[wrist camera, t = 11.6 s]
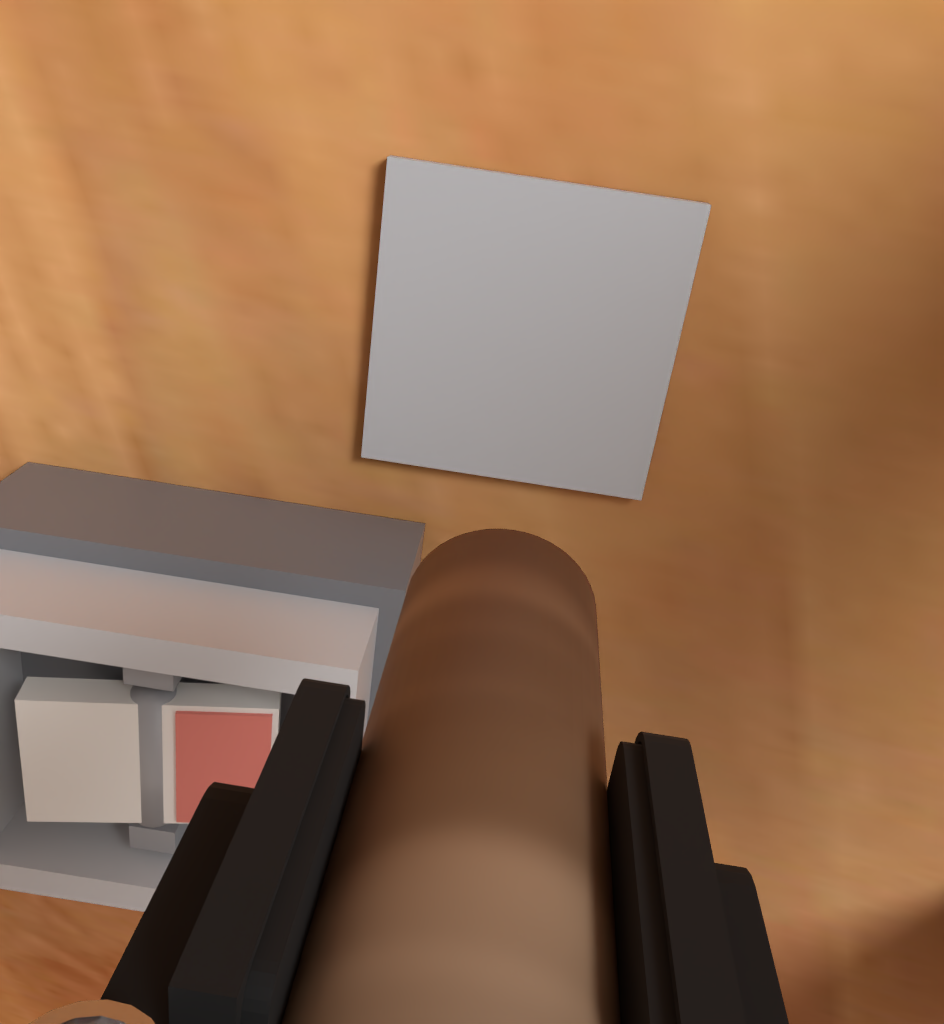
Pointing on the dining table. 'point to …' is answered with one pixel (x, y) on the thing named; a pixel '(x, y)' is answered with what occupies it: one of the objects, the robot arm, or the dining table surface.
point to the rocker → (137, 747)
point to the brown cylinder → (475, 809)
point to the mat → (526, 325)
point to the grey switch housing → (174, 628)
